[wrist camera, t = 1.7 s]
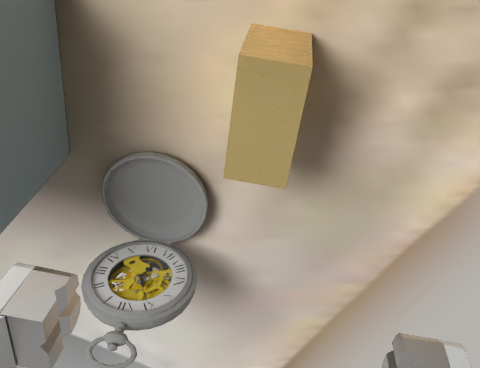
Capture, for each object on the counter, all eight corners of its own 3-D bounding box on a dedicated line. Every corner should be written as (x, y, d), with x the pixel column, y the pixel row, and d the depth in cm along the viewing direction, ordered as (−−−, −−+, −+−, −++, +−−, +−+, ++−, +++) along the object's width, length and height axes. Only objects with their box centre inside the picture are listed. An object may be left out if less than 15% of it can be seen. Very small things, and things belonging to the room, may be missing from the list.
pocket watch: (172, 130, 26) (109, 245, 18) (242, 234, 30) (217, 369, 22) (68, 180, 29) (-27, 298, 21) (143, 269, 33) (88, 399, 24)
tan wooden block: (251, 23, 22) (239, 54, 18) (311, 32, 22) (312, 66, 18) (236, 130, 26) (223, 178, 22) (288, 139, 26) (285, 189, 21)
